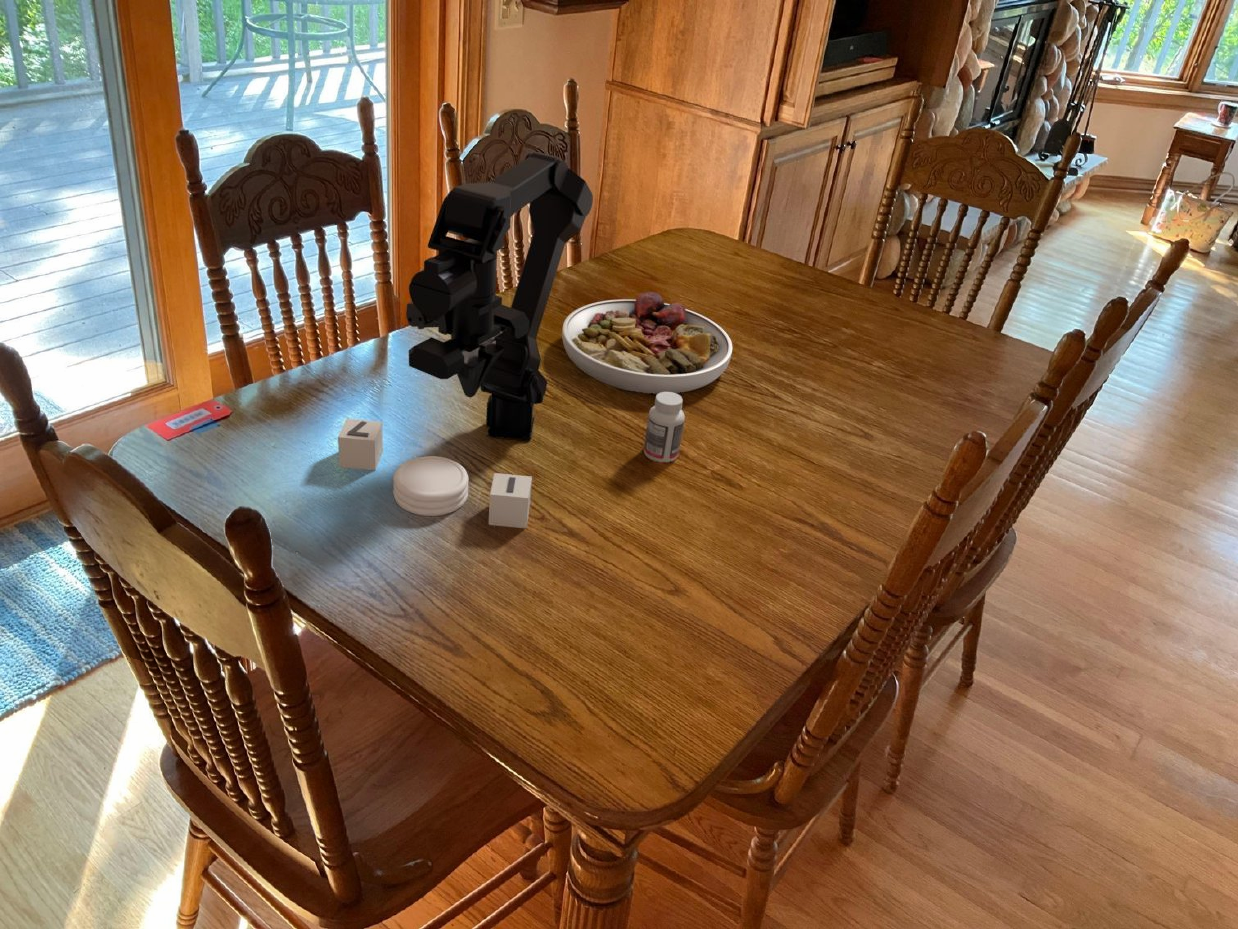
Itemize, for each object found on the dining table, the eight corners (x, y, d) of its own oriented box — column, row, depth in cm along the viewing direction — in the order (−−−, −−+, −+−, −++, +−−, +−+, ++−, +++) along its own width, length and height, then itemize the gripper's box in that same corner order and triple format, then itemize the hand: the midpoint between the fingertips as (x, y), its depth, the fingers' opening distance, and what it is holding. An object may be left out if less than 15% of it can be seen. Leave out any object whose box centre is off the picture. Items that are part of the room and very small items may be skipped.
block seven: (382, 451, 140) (382, 420, 138) (375, 470, 136) (374, 439, 133) (347, 448, 140) (346, 417, 137) (339, 467, 136) (337, 435, 133)
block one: (529, 506, 133) (532, 475, 130) (526, 528, 129) (528, 496, 126) (493, 503, 133) (494, 471, 130) (488, 525, 129) (490, 493, 126)
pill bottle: (670, 442, 151) (679, 387, 146) (683, 461, 147) (693, 405, 142) (637, 446, 149) (645, 390, 144) (650, 465, 145) (659, 408, 140)
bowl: (734, 411, 162) (742, 369, 158) (554, 392, 161) (558, 349, 156) (721, 332, 187) (728, 294, 183) (565, 315, 186) (569, 276, 182)
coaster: (386, 480, 135) (386, 459, 133) (457, 471, 139) (457, 450, 137) (402, 523, 127) (402, 501, 126) (476, 511, 131) (477, 490, 129)
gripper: (467, 252, 134) (465, 353, 142) (373, 292, 120) (376, 402, 128) (534, 275, 130) (527, 378, 138) (445, 319, 116) (443, 431, 124)
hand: (469, 395), depth 132 cm, fingers closed
